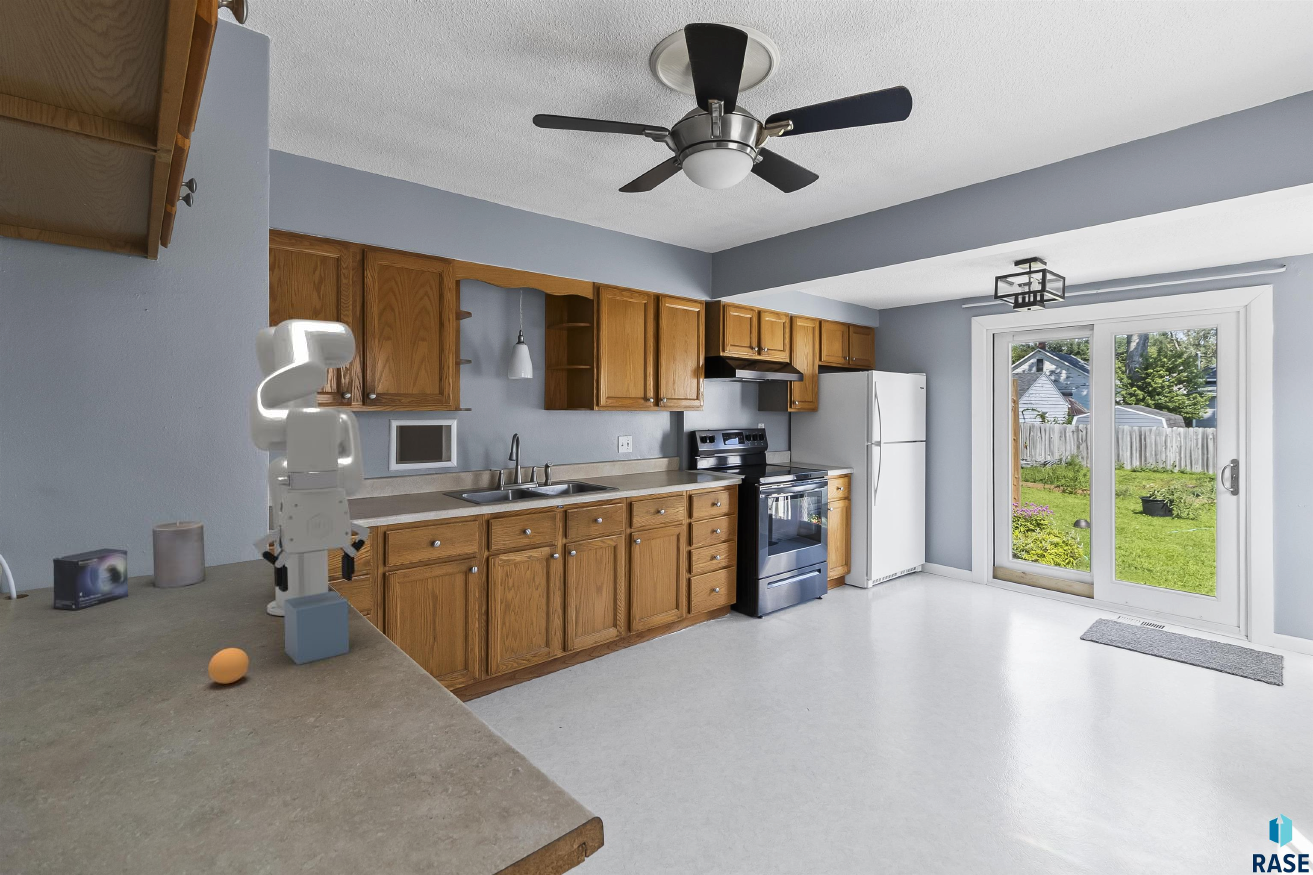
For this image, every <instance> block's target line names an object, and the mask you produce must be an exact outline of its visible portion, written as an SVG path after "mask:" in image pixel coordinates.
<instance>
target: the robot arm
mask: <svg viewBox="0 0 1313 875" xmlns="http://www.w3.org/2000/svg"><path fill="white" fill-rule="evenodd" d="M355 352H356V341H355V337H354V334H353V331H352V330H351V328H350V326H348V325H347V324H345V323H343V322H339V321H330V320H317V319H316V320H314V319H300V318H294V319H293V318H292V319H287V320H283V321H281V322H280V323H279V324H277V325H276V326H270V327H269V326H268V327H265V328H263V329H261V330H259V331H258V333H257V335H256V336H255V353H256V358H257V363H258V366H259V368H260V372H261V373H262V376H263V379H262V380H260V382H259V383H258V384H257V385H256V387H255V388H254V390H253V391H252V393H251V396H250V400H249V404H248V405H249V407H248V410H249V412H248V414H249V433H250V438H251V442H252V444H253V445H254V446H255V447H256V448H257V449H258V450H260V451H262V452H263V451H264V452H270V453H271V452H286V455H282V456H279V457H277V458H274V460H272V461H271V462H270V463H269V465H268V468H267V483H268V488H269V489H268V490H269V494H270V498H271V505H272V515H273V516H272V517H273V530H271V531H269V532H268V533H266V534H264V535H263V536H261V537H259V538H257V539H256V540H254V541H253V546H254V547H255V549H256V550H257V552H258V553H259V555H260V556H261V558H263V559H264V560H266V562H269V563H270V564H272V565H273V571H274V572H273V573H274V574H273V577H274V580H273V581H274V586H275V587H274V588H275V599H274V600H273V601H271V602H269V603H268V604H267V606H266V612H267V613H268V614H270V615H273V616H279V617H281V616H282V617H285V615H284V600H286V599H292V598H297V597H303V596H308V595H314V594H320V593H325V592H329V561H328V560H329V559H328V557H329V556H328V551H332V550H340V551H342V552H343V555H342V556H341V578H342V579H343V580H345V581H346V582H347V581H348V582H351V581H352V580H353V575H354V574H355V572H356V569H355V564H356V563H355V557H357V555H358V553H359V551H360V550H362V548H363V547H364V546H365V544H366V541H367V539H368V537H369V536H370V532H371V529H370V528H368V527H366V526H364V525H360V524H358V523H355V522H353V521H351V516H350V515H351V514H350V509H349V502H348V498H353V497H355V496H358V495H359V494H360V493H361V492H362V490H363V488H364V482H365V473H364V464H363V463H364V462H363V457H362V456H363V453H362V446H361V438H360V430H359V423H358V421H357V417H356V416H355V414H354V413H353V412H352V411H351V410H349V409H347V408H341V407H340V408H339V407H319V405H318V391H320V390H321V389H323V387H324V386H325V384H326V383H327V380H328V372H327V369H328V368H333V369H334V368H335V369H339V368H344V367H345V366H347V365H349V364H350V363H352V361H353V359H354V356H355ZM352 531H354V532H356V533H358V534H357V537H356V539H355V540H354V541H353V542H352ZM272 542H273V543H274V544H273V545H274V546H273V547H274V553H272V552H271V551H270V549H269V547H268V545H269V544H270V543H272Z"/></svg>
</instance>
